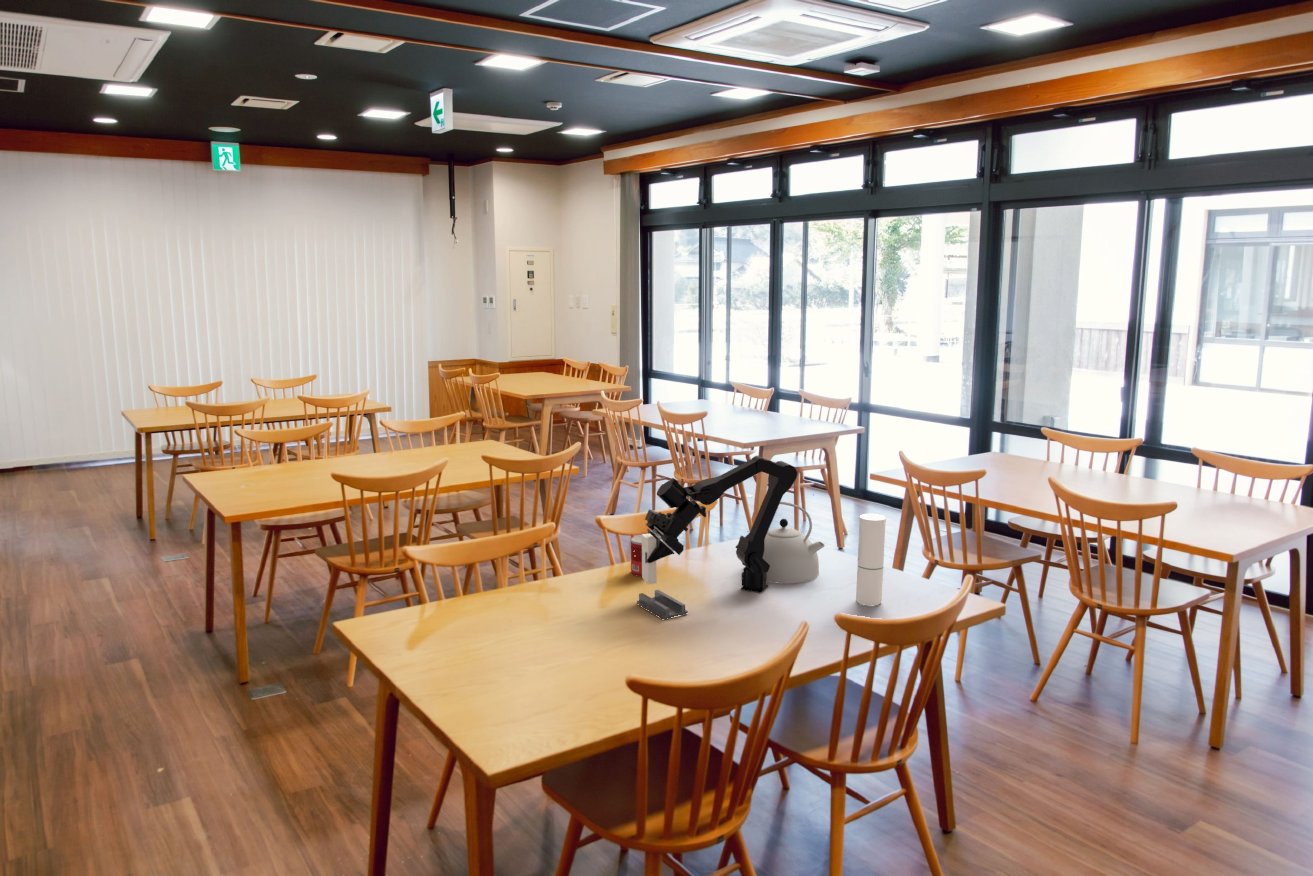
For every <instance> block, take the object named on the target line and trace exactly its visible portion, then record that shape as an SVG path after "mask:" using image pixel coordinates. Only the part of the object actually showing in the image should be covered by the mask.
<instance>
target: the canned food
mask: <svg viewBox="0 0 1313 876" xmlns="http://www.w3.org/2000/svg"><path fill="white" fill-rule="evenodd" d="M634 550H635V552H633V551H634ZM641 551H642V535H636V536H634V537H631V538H630V572H631V574H632V575H633V574H634V575H633V576H635V575H637V576H636V577H640V576H642V556H641V555H640V553H641ZM634 555H636V557H634Z"/></svg>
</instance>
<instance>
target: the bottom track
mask: <svg viewBox="0 0 1313 876" xmlns="http://www.w3.org/2000/svg"><path fill="white" fill-rule="evenodd" d="M637 604H639V605H640V606H642V607H643V608H645V609H647V610H649V611H650V612H652V613H653V614H655V615H657V616H659V617H660V618H661V619H660V618H659V619H660V620H662V619H667V618H671V617H674V616H678V615H683V614H686V613H689V611H688V610H687V609H686V604H685V603H683V602H681V601H679V600H678V599H675V598H674V597H673V596H670V595H668V594H666V593H665V592H663V591H661V590H660V589H655V590H654V596H653V597H651V596H648V595H647V594H645V593H644V592H643V593H642V592H641V593H638V600H636V605H637ZM640 606H639V607H640ZM642 607H641V608H642ZM643 608H642V609H643ZM645 609H644V610H645ZM647 610H646V611H647ZM650 612H649V613H650ZM652 613H651V614H652ZM653 614H652V615H653ZM655 615H654V616H655ZM657 616H656V617H657ZM671 619H672V618H671ZM667 620H668V619H667Z"/></svg>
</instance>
